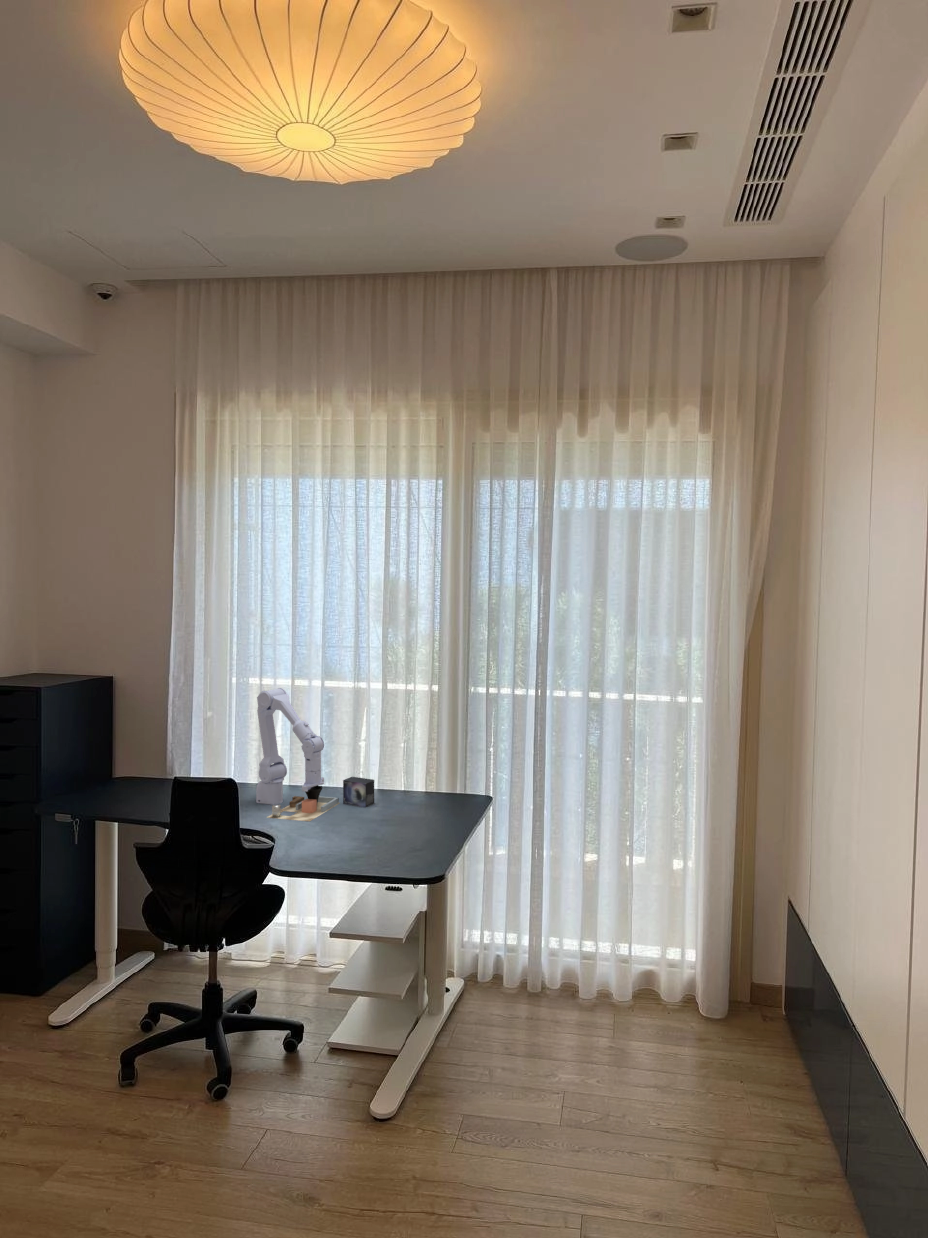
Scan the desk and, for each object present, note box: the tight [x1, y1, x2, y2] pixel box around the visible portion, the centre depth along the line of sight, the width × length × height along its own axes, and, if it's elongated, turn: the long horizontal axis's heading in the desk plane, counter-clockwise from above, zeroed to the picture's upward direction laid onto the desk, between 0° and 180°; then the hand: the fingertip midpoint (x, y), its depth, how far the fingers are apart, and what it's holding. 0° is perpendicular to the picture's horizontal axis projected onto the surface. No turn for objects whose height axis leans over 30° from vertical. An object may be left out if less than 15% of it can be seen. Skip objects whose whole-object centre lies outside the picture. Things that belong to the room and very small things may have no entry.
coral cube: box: [302, 798, 317, 813], centre depth 328 cm, size 4×4×4 cm
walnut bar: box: [289, 795, 305, 807], centre depth 338 cm, size 4×8×2 cm, turn 164°
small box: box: [342, 776, 375, 808], centre depth 339 cm, size 11×6×10 cm, turn 62°
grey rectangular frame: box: [296, 795, 340, 813], centre depth 335 cm, size 11×14×2 cm
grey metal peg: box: [271, 804, 282, 819], centre depth 321 cm, size 3×3×4 cm
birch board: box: [266, 802, 341, 822], centre depth 330 cm, size 17×26×1 cm, turn 164°
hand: (313, 806), depth 331 cm, fingers closed
